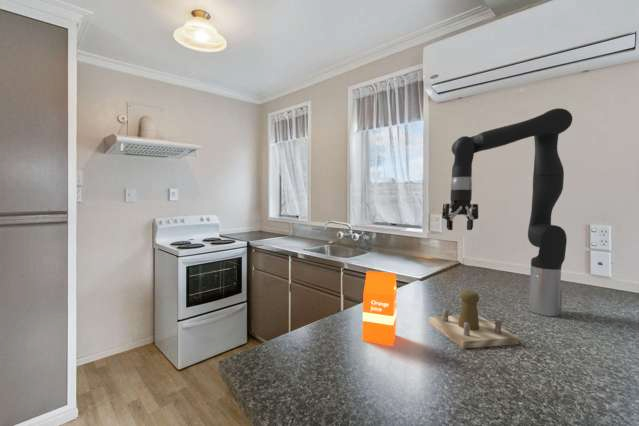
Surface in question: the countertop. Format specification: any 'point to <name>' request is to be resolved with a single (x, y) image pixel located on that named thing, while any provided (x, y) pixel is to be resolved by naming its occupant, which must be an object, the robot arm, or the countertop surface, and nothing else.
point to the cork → (469, 310)
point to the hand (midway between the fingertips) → (459, 230)
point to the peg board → (473, 332)
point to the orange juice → (379, 308)
